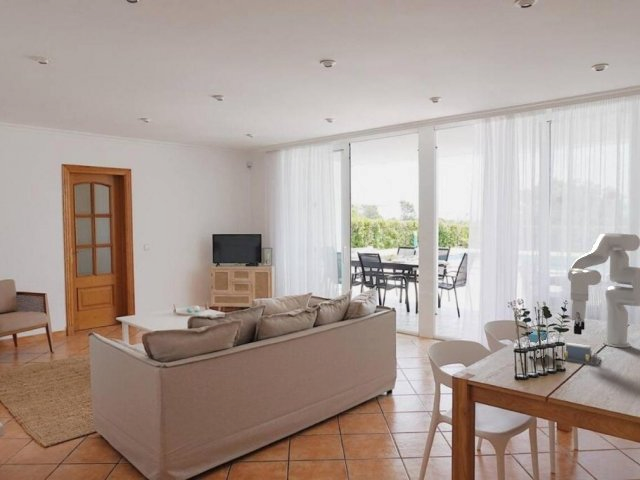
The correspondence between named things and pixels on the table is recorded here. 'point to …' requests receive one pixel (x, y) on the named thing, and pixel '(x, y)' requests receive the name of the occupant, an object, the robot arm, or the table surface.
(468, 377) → the table surface
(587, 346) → the block
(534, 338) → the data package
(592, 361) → the tray
